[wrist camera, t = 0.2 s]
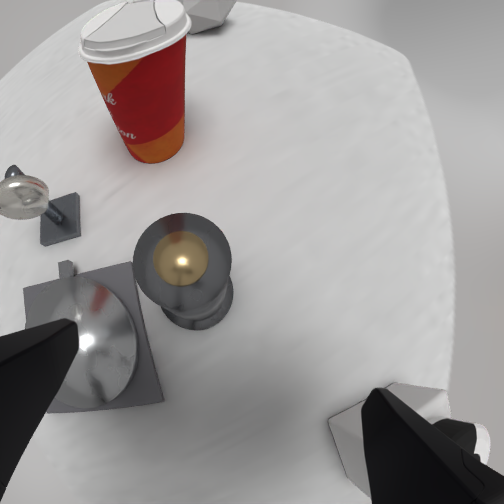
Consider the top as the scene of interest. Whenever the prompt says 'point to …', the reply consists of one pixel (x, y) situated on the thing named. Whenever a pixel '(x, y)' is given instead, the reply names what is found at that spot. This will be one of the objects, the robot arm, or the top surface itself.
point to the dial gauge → (39, 206)
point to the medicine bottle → (426, 405)
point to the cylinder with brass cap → (185, 269)
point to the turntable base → (145, 377)
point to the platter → (90, 337)
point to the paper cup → (141, 72)
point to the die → (206, 13)
